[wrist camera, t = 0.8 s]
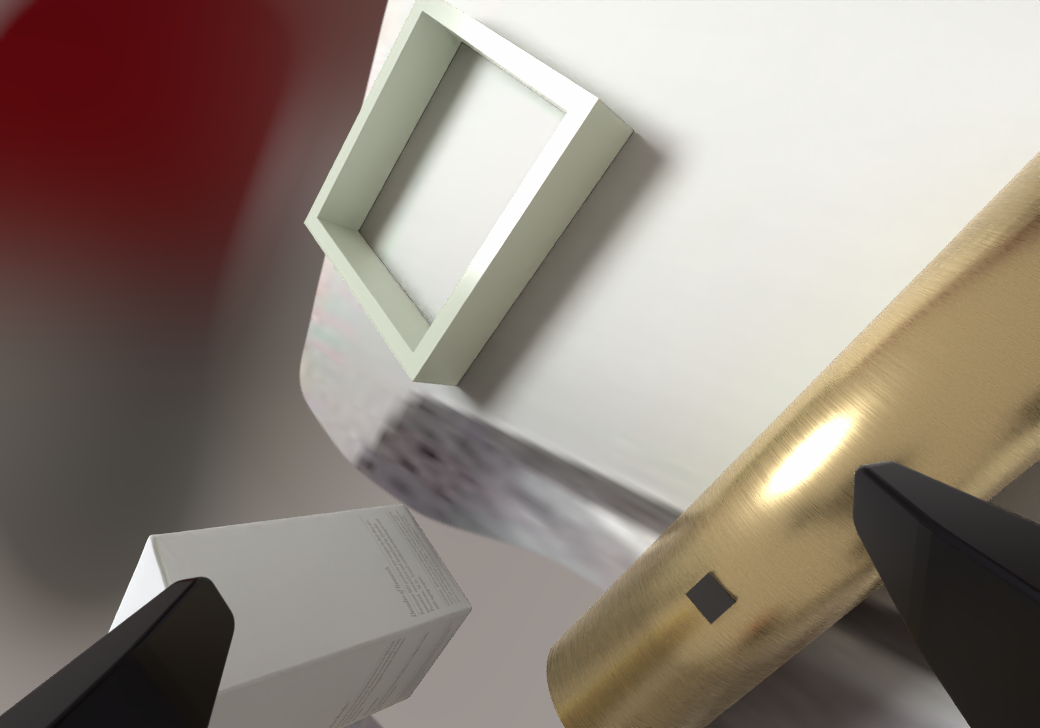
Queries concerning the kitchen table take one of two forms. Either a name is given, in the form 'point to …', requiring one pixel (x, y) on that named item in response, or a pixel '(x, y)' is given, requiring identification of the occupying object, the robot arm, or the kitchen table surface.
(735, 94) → the kitchen table surface
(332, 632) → the supplement box
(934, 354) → the tube
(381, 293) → the rim
